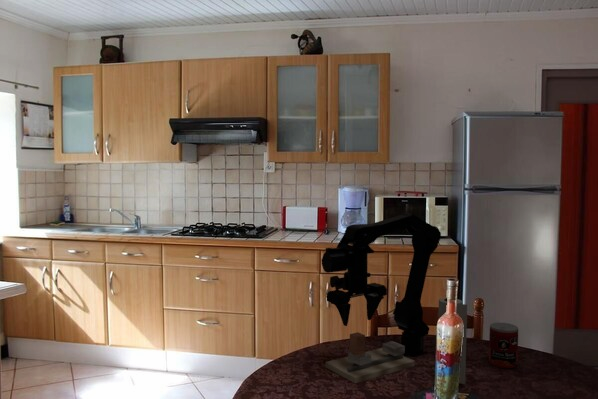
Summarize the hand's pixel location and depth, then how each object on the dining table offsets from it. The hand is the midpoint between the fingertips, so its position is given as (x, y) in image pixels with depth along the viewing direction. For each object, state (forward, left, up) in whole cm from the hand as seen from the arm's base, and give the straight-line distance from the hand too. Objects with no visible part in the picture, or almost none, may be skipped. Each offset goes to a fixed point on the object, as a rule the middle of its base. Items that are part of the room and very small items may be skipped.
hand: (357, 322), depth 146 cm
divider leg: (+4, +5, -10) cm, 12 cm away
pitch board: (-1, +4, -12) cm, 13 cm away
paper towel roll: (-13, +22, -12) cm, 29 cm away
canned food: (-35, +23, -12) cm, 44 cm away
